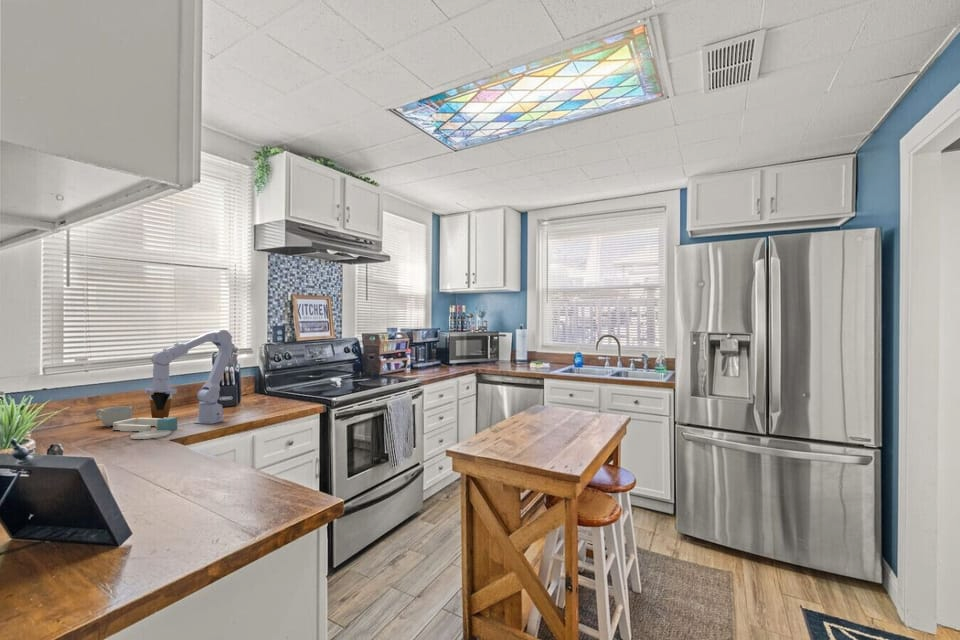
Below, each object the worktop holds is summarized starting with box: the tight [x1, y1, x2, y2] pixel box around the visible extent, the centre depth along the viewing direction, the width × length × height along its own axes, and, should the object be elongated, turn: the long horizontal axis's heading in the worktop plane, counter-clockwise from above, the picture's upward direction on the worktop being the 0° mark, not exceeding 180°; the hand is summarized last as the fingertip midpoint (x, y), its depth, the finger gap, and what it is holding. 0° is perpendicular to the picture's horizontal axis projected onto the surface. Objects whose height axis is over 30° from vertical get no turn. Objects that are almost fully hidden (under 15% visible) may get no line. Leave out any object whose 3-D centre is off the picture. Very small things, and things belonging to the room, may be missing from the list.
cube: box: [156, 416, 178, 431], centre depth 184 cm, size 5×5×5 cm
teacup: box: [95, 405, 133, 428], centre depth 192 cm, size 14×11×8 cm
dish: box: [130, 429, 172, 439], centre depth 173 cm, size 13×13×1 cm
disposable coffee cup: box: [148, 394, 174, 418], centre depth 207 cm, size 10×10×12 cm
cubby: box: [112, 417, 162, 433], centre depth 186 cm, size 17×11×4 cm, turn 81°
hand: (160, 410), depth 185 cm, fingers closed
